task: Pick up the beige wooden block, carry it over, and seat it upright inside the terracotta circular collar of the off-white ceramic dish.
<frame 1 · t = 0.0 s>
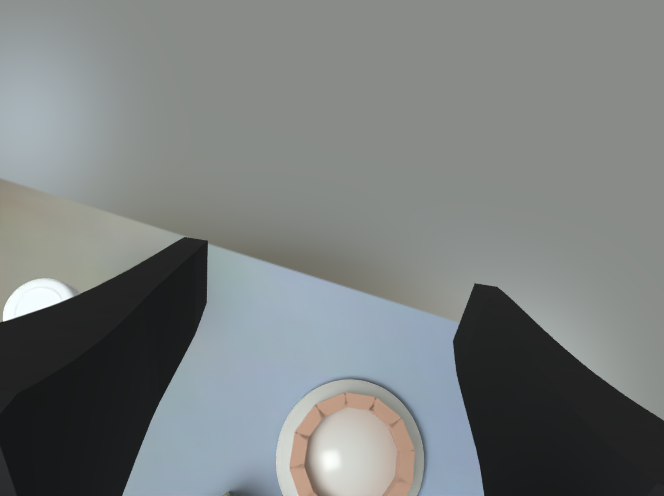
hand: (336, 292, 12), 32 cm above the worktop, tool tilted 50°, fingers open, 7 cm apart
collar dish: (349, 455, 41), on the worktop
sprinkles bottle: (114, 338, 43), on the worktop
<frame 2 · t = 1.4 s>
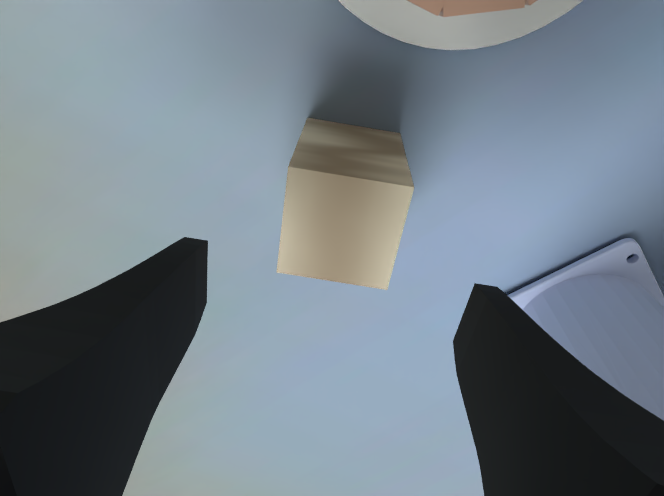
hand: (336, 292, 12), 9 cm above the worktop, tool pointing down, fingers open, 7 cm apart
beige wooden block: (346, 169, 21), on the worktop
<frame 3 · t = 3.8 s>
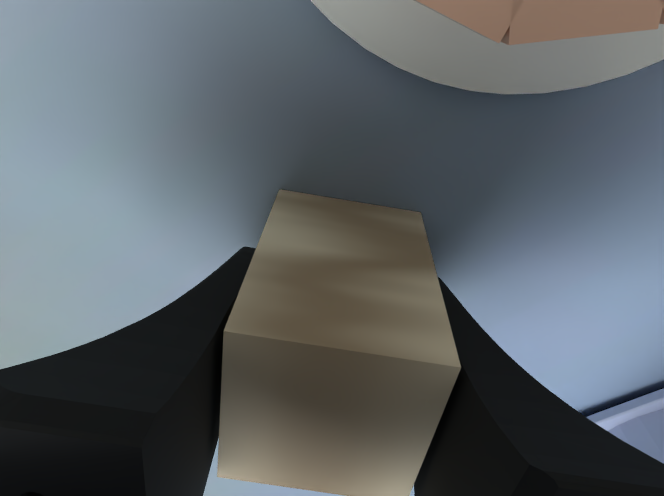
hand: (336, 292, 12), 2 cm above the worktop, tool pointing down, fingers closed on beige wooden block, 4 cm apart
beige wooden block: (338, 260, 14), on the worktop, touching gripper
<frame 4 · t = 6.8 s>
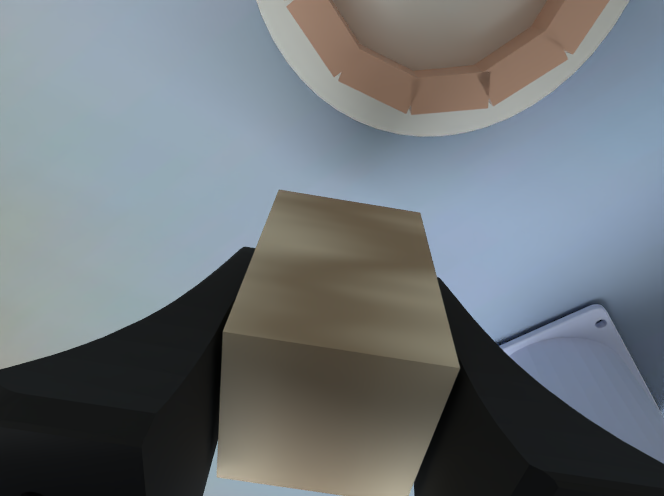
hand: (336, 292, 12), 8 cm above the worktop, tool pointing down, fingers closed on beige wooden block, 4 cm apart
beige wooden block: (338, 261, 14), point 7 cm above the worktop, touching gripper
when the fingers open (3 cm above the worktop, at t = 9.9 s): beige wooden block stays where it is, resting on collar dish.
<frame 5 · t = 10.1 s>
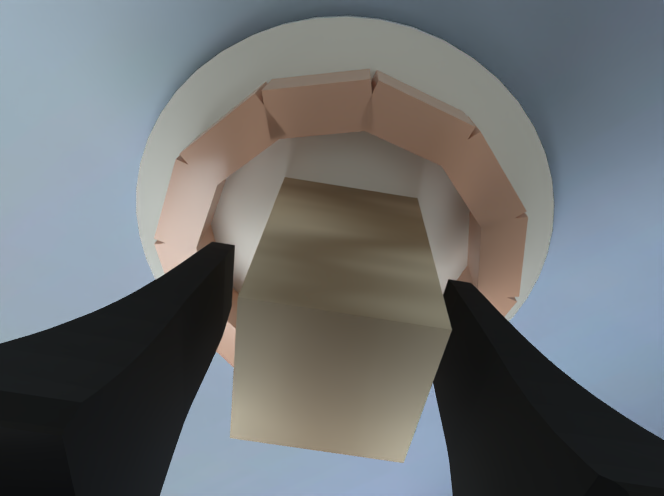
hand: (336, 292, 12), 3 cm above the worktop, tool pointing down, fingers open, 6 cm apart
collar dish: (341, 233, 15), on the worktop
beige wooden block: (340, 245, 15), point 1 cm above the worktop, touching collar dish
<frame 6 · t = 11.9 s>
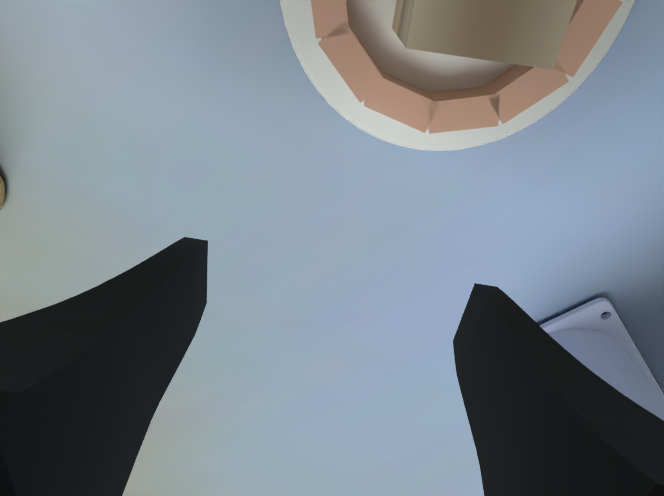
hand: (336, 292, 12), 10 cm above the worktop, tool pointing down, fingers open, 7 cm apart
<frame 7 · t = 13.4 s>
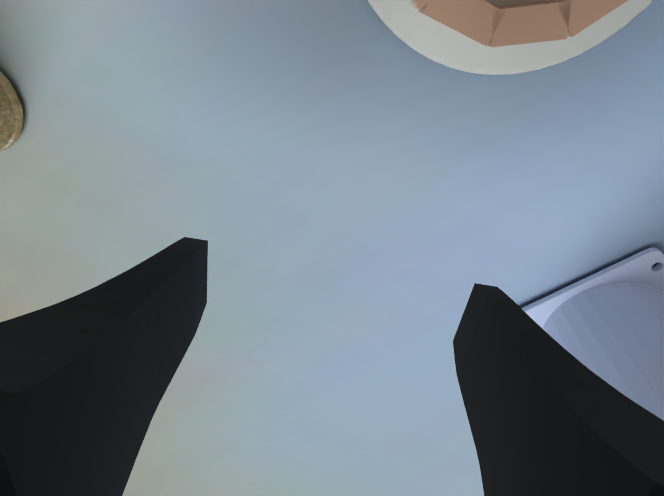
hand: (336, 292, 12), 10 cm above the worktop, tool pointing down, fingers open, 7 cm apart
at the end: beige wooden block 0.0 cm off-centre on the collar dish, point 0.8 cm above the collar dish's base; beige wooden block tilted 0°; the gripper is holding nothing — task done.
